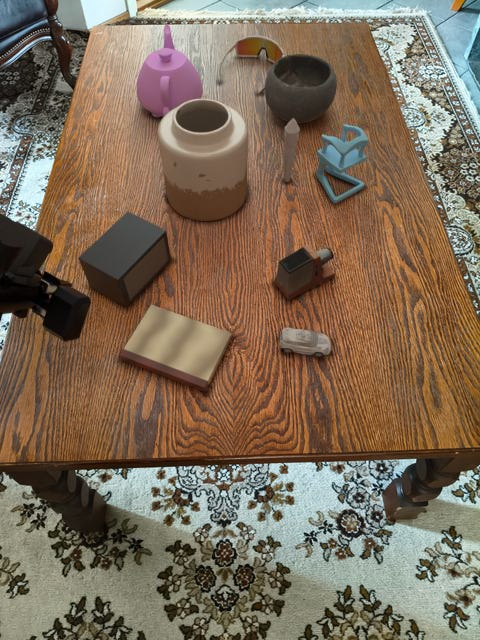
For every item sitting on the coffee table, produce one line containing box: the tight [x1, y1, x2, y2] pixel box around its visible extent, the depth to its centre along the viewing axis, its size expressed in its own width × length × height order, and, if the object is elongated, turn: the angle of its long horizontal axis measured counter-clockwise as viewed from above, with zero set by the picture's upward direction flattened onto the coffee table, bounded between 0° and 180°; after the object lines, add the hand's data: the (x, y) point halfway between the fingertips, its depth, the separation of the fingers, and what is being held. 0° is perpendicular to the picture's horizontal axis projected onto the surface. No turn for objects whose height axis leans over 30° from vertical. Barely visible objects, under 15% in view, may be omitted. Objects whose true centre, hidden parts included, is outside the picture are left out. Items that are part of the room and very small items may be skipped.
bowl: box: [264, 53, 338, 124], centre depth 106 cm, size 15×15×10 cm
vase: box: [157, 98, 249, 222], centre depth 90 cm, size 15×15×17 cm
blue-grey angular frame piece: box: [315, 123, 370, 204], centre depth 93 cm, size 8×8×12 cm
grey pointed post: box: [283, 118, 301, 183], centre depth 93 cm, size 2×3×14 cm
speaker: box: [78, 211, 172, 309], centre depth 83 cm, size 12×8×8 cm
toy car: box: [279, 327, 332, 358], centre depth 77 cm, size 4×8×3 cm, turn 82°
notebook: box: [118, 304, 233, 393], centre depth 77 cm, size 14×10×2 cm
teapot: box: [136, 24, 204, 118], centre depth 107 cm, size 20×14×12 cm
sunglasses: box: [218, 34, 286, 95], centre depth 118 cm, size 14×15×5 cm
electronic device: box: [274, 243, 336, 301], centre depth 82 cm, size 4×10×8 cm, turn 121°
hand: (69, 286), depth 73 cm, fingers closed
